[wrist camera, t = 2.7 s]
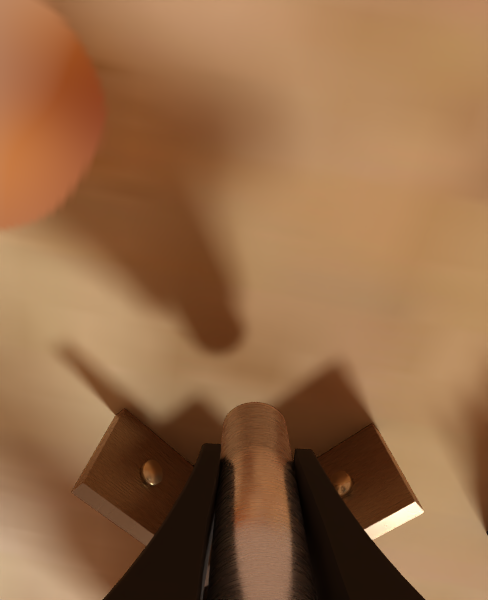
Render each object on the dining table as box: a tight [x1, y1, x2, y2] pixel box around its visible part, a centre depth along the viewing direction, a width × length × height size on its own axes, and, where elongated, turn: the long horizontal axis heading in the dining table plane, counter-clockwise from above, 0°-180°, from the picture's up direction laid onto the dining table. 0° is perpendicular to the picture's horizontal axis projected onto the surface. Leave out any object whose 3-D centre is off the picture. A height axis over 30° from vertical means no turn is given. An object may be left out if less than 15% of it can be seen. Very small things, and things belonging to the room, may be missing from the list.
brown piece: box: [71, 408, 424, 600], centre depth 16 cm, size 14×14×5 cm
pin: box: [207, 402, 318, 600], centre depth 10 cm, size 3×3×8 cm
